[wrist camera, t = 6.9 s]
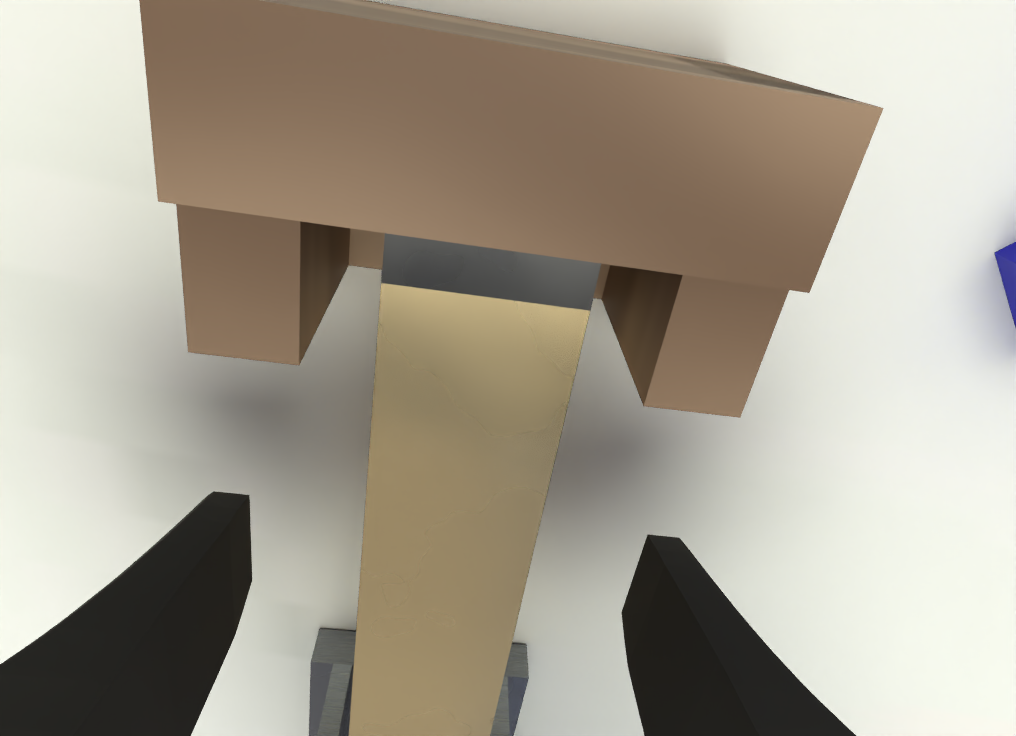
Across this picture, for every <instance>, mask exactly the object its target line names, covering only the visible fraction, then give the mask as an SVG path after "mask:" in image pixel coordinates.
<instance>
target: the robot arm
mask: <svg viewBox="0 0 1016 736" xmlns="http://www.w3.org/2000/svg"><path fill="white" fill-rule="evenodd" d="M251 582H252V562H251V531H250V500H249V495H243V494H233V493H223V492H212V493H211V494H209V495H208V496H207V497H206V498H205V499H203V500H202V501H201V502H200V503H199V504H198V505H197V506H196V507H195V508H194V509H193V510H192V511H191V512H190V513H189V514H188V515H186V516H185V517H184V518H183V519H182V520H181V521H180V522H179V523H178V524H177V525H176V526H175V527H174V528H172V529H171V530H170V531H169V532H168V533H167V534H166V535H165V536H164V537H163V538H161V539H160V540H159V541H158V542H157V543H156V544H155V545H154V546H153V547H151V548H150V549H149V550H148V551H147V552H146V553H145V554H143V555H142V556H141V557H140V558H139V559H138V560H136V561H135V562H134V563H133V564H132V565H131V566H130V567H128V568H127V569H126V570H125V571H124V572H123V573H121V574H120V575H119V576H118V577H117V578H115V579H114V580H113V581H112V582H111V583H109V584H108V585H107V586H106V587H104V588H103V589H102V590H101V591H99V592H98V593H97V594H96V595H94V596H93V597H92V598H91V599H89V600H88V601H87V602H85V603H84V604H83V605H82V606H80V607H79V608H78V609H77V610H75V611H74V612H73V613H72V614H70V615H69V616H68V617H66V618H65V619H64V620H62V621H61V622H60V623H58V624H57V625H56V626H54V627H53V628H52V629H50V630H49V631H48V632H46V633H45V634H43V635H42V636H41V637H39V638H38V639H36V640H35V641H34V642H32V643H31V644H29V645H28V646H26V647H25V648H24V649H22V650H21V651H19V652H18V653H16V654H15V655H13V656H12V657H10V658H9V659H8V660H6V661H5V662H3V663H2V664H0V736H191V734H192V731H193V729H194V727H195V725H196V722H197V720H198V718H199V716H200V714H201V711H202V709H203V707H204V705H205V702H206V700H207V698H208V696H209V693H210V691H211V689H212V687H213V684H214V682H215V680H216V678H217V675H218V673H219V671H220V668H221V666H222V664H223V662H224V659H225V657H226V655H227V653H228V650H229V648H230V646H231V643H232V641H233V639H234V636H235V634H236V630H237V627H238V624H239V621H240V618H241V615H242V612H243V609H244V605H245V602H246V599H247V595H248V592H249V589H250V585H251ZM622 620H623V630H624V639H625V647H626V655H627V662H628V668H629V673H630V677H631V681H632V686H633V690H634V694H635V698H636V702H637V706H638V710H639V715H640V719H641V723H642V727H643V731H644V735H645V736H856V735H855V734H854V733H853V732H852V731H850V730H849V729H848V728H847V727H846V726H845V725H844V724H843V723H842V722H841V721H840V720H839V719H838V718H837V717H836V716H835V715H834V714H833V713H832V712H831V711H829V710H828V709H827V708H826V707H825V706H824V705H823V704H822V703H821V702H820V701H819V700H818V699H817V698H816V697H815V696H814V695H813V694H812V693H811V692H810V691H809V690H808V689H807V688H806V687H805V686H804V685H803V684H802V683H801V682H800V681H799V680H798V679H797V678H796V676H795V675H794V674H793V673H792V672H791V671H790V670H789V669H788V668H787V667H786V666H785V665H784V663H783V662H782V661H781V660H780V659H779V658H778V657H777V656H776V655H775V654H774V653H773V652H772V650H771V649H770V648H769V647H768V646H767V645H766V644H765V642H764V641H763V640H762V639H761V638H760V637H759V636H758V634H757V633H756V632H755V631H754V630H753V629H752V627H751V626H750V625H749V624H748V623H747V622H746V620H745V619H744V618H743V617H742V616H741V614H740V613H739V612H738V611H737V610H736V608H735V607H734V606H733V605H732V603H731V602H730V601H729V600H728V598H727V597H726V596H725V595H724V593H723V592H722V591H721V590H720V588H719V587H718V586H717V585H716V583H715V582H714V581H713V580H712V578H711V577H710V576H709V575H708V573H707V572H706V571H705V569H704V568H703V567H702V566H701V564H700V563H699V562H698V561H697V559H696V558H695V557H694V555H693V554H692V553H691V552H690V550H689V549H688V548H687V547H686V545H685V544H684V543H683V542H682V540H681V539H680V538H676V537H666V536H656V535H647V538H646V541H645V544H644V547H643V550H642V553H641V556H640V559H639V562H638V565H637V568H636V571H635V574H634V577H633V580H632V583H631V586H630V589H629V592H628V595H627V598H626V601H625V604H624V607H623V609H622Z"/></svg>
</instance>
